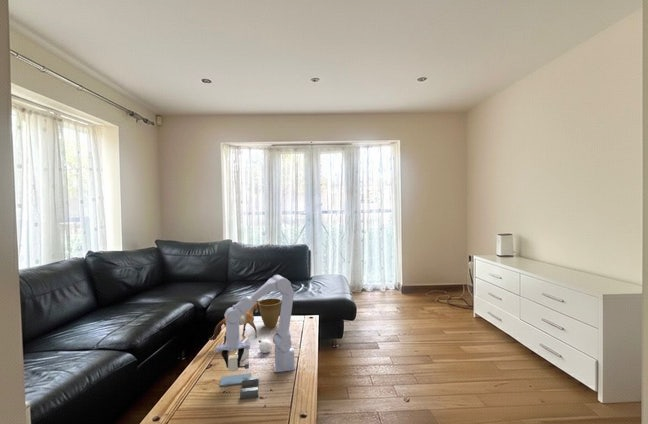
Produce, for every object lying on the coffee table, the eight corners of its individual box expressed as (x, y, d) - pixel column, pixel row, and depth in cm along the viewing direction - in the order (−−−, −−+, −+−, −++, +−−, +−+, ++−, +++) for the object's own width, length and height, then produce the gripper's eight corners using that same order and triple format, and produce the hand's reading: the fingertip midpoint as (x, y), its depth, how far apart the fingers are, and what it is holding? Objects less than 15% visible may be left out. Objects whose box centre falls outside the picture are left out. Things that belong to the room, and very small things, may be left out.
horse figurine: (257, 332, 187) (257, 299, 187) (264, 336, 182) (264, 302, 182) (208, 348, 166) (208, 311, 166) (214, 353, 160) (214, 315, 160)
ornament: (267, 356, 156) (258, 345, 156) (262, 355, 162) (254, 345, 162) (276, 346, 160) (267, 335, 160) (271, 346, 166) (263, 336, 166)
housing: (258, 383, 132) (258, 376, 132) (258, 397, 122) (258, 389, 122) (242, 385, 131) (242, 378, 131) (240, 399, 121) (240, 391, 121)
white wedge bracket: (255, 349, 159) (248, 337, 156) (241, 365, 153) (234, 353, 149) (251, 347, 162) (244, 335, 158) (237, 363, 155) (230, 351, 152)
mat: (251, 374, 139) (251, 373, 139) (250, 382, 132) (250, 381, 132) (221, 377, 137) (221, 376, 137) (219, 386, 130) (219, 385, 130)
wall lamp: (249, 365, 137) (249, 353, 137) (248, 369, 133) (247, 357, 133) (229, 366, 136) (229, 355, 136) (228, 371, 132) (227, 359, 132)
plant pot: (274, 319, 208) (273, 296, 208) (285, 326, 197) (285, 301, 197) (254, 325, 199) (254, 301, 199) (265, 332, 187) (265, 306, 187)
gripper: (214, 340, 128) (214, 372, 128) (249, 337, 131) (249, 368, 131) (216, 334, 135) (217, 364, 135) (249, 331, 138) (250, 360, 138)
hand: (233, 366), depth 134 cm, fingers closed on wall lamp, 4 cm apart
